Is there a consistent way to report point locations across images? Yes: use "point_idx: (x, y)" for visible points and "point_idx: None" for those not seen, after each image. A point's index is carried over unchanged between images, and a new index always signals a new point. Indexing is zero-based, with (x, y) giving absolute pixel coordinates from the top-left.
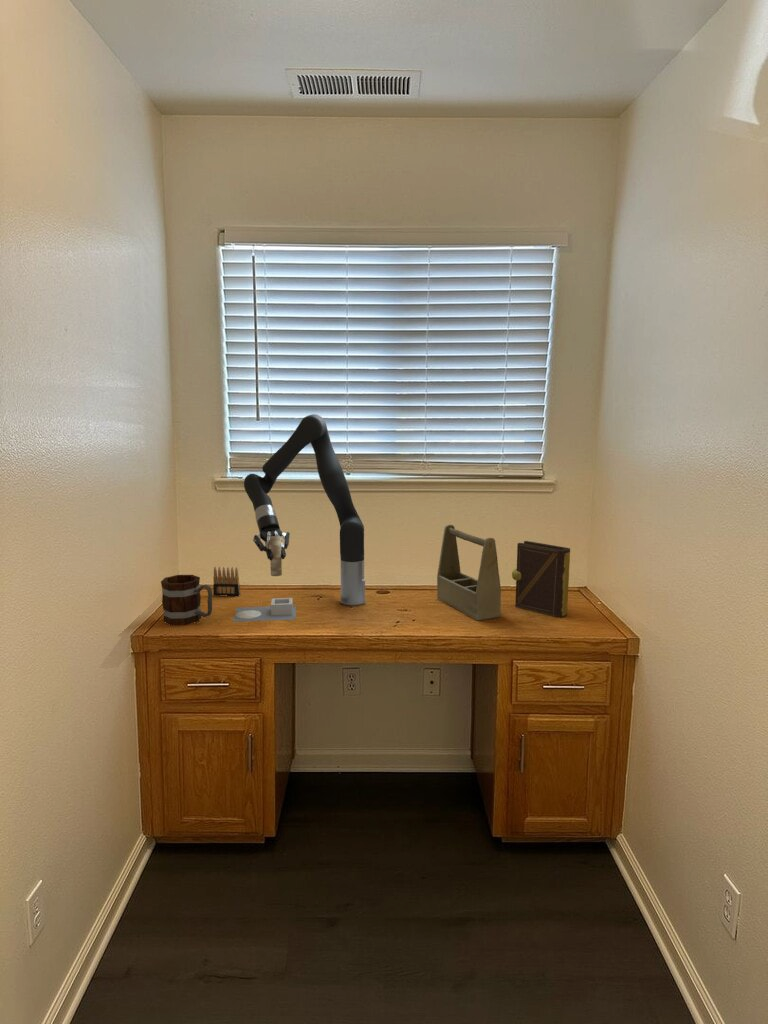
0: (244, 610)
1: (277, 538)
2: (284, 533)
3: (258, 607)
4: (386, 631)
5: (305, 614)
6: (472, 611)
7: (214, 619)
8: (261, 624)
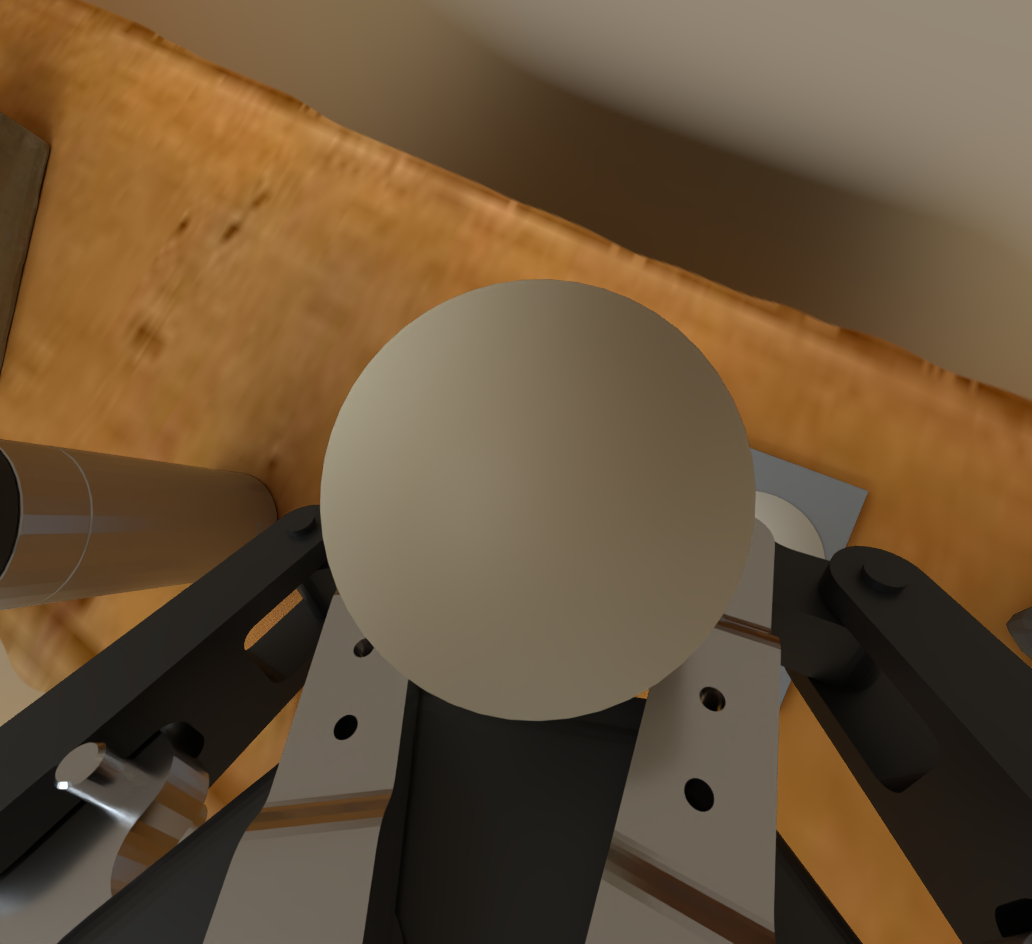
0: None
1: (521, 289)
2: (5, 932)
3: None
4: (312, 160)
5: None
6: (16, 150)
7: None
8: None
